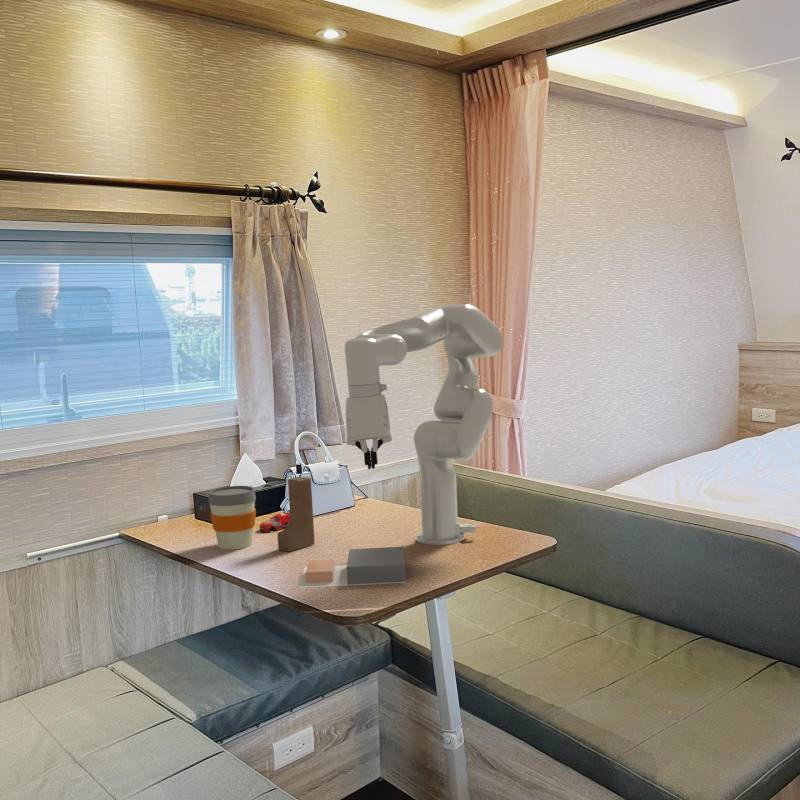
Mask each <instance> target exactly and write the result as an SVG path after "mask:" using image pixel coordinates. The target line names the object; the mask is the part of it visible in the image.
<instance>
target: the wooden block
mask: <svg viewBox="0 0 800 800" xmlns="http://www.w3.org/2000/svg"><path fill="white" fill-rule="evenodd" d="M287 485H288V486H287V487H288V502H289V503H288V504H289V513H290V520H289V524H288V526H287V527H286V528H284V529H282V530H281V531H279V532H277V546H278V547H277V548H278V550H280V551H284V552H287V553H289V552H293V551H297V550H301V549H303V548H307V547H310V546H314V545H315V529H314V527H315V526H314V510H313V509H314V508H313V495H312V494H313V493H312V492H313V491H312V479H311V478H310V477H305V476H297V477H290V478H289V479H287Z"/></svg>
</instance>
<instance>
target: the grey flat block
mask: <svg viewBox="0 0 800 800" xmlns="http://www.w3.org/2000/svg"><path fill="white" fill-rule="evenodd" d="M348 550H349V551H348V557H347V563H346V565H347V581H348V585H349V586H351V585H350V584H369V585H371V584H370V583H388V584H390V583H389V582H406V583H407V578H406V577H407V576H406V574H407V572H406V557H405V547H404V546H389V547H373V548H372V547H367V548H351V549H350V548H349V549H348Z"/></svg>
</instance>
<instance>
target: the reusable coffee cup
mask: <svg viewBox="0 0 800 800" xmlns="http://www.w3.org/2000/svg"><path fill="white" fill-rule="evenodd" d="M256 500H257V496H256V491H255V487H254V486H250V485H230V486H222V487H218V488H214V489H211V490H209V491H208V504H209V505H210V519H211V523H212V529H213V530H214V531H215V536H216V542H217V546H218V548H219V549H220V548H221V549H220V550H224V549H225V550H224V551H234V550H233V549H236V550H242V549H241V548H243V549H246V548H248V546H249V547H251V546H252V545H253V540H254V538H253V536H254V527H255V526H256V517H257V516H256V515H257V509H256V508H255V506H256V504H255V503H256ZM250 545H251V546H250ZM245 547H246V548H245Z"/></svg>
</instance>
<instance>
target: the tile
mask: <svg viewBox="0 0 800 800" xmlns="http://www.w3.org/2000/svg"><path fill="white" fill-rule="evenodd" d="M335 561H336V559H335V558H334V559H315V560H309V561H308V563H307V566H306V567H307V570H306V583H322V582H333V579H334V573H335V566H336V562H335Z"/></svg>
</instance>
